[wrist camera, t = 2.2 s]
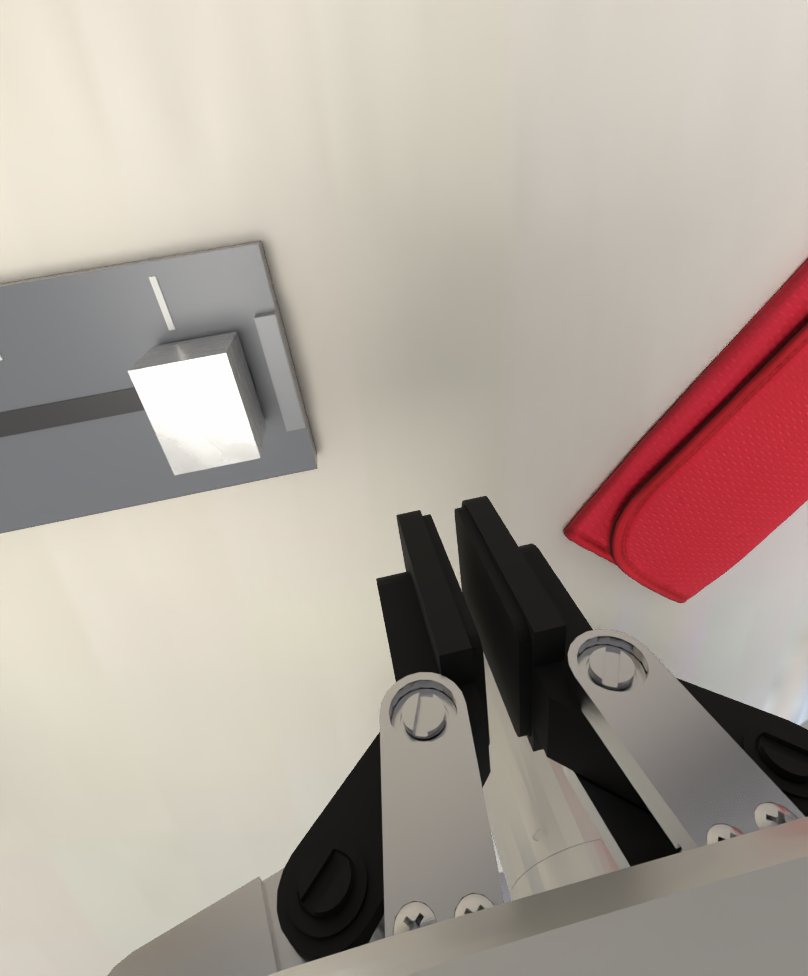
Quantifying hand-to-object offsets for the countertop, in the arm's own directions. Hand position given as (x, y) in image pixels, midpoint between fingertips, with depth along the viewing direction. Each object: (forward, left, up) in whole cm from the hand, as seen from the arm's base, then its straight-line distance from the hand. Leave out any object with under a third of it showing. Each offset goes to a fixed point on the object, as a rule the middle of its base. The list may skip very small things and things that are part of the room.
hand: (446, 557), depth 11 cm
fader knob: (+8, 0, -17) cm, 18 cm away
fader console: (+17, 0, -19) cm, 26 cm away
